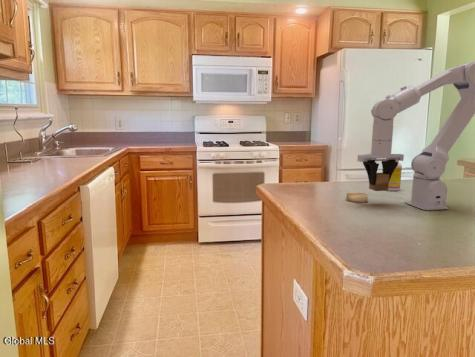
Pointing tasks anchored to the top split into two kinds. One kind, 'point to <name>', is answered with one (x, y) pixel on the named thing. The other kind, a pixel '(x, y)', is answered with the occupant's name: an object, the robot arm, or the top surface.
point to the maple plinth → (357, 197)
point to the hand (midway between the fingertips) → (378, 184)
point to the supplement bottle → (395, 178)
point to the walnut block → (380, 182)
